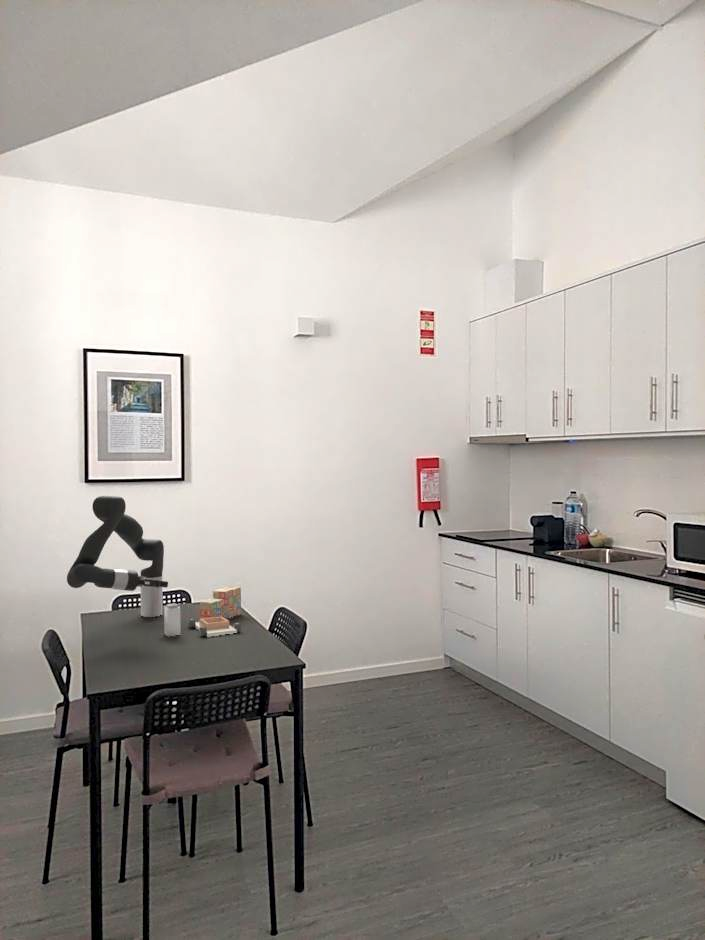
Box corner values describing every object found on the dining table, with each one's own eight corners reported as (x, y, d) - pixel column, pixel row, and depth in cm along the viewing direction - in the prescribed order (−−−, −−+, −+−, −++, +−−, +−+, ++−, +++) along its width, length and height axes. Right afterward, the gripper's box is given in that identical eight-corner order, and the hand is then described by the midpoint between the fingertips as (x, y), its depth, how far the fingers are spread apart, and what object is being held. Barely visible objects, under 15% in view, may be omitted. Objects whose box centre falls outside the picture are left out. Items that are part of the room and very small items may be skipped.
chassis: (187, 626, 305) (187, 617, 305) (225, 622, 313) (225, 613, 313) (202, 637, 288) (202, 627, 288) (241, 633, 296) (241, 623, 295)
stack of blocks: (212, 625, 309) (211, 595, 309) (200, 623, 312) (199, 594, 312) (241, 614, 329) (241, 586, 328) (229, 613, 331) (229, 585, 331)
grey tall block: (164, 634, 293) (164, 604, 293) (177, 632, 296) (176, 602, 295) (167, 637, 289) (167, 606, 289) (180, 635, 291) (180, 605, 291)
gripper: (132, 571, 274) (172, 575, 284) (116, 568, 285) (155, 572, 295) (129, 591, 273) (169, 595, 283) (113, 588, 284) (153, 591, 294)
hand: (162, 583), depth 289 cm, fingers open, 8 cm apart
